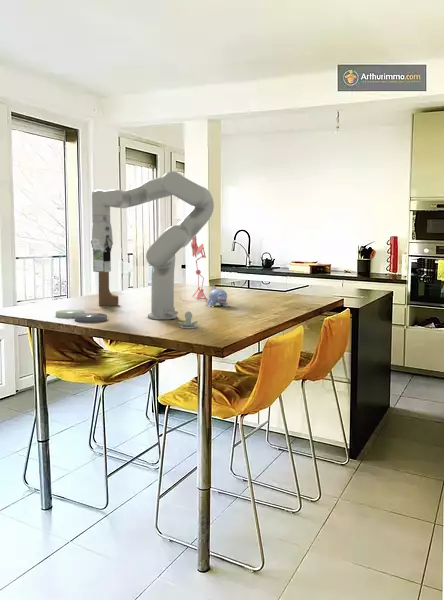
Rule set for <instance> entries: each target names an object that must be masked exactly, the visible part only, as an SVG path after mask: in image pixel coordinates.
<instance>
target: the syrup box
mask: <svg viewBox="0 0 444 600" xmlns="http://www.w3.org/2000/svg"><path fill="white" fill-rule="evenodd" d="M105 245H107V244H106V242H105ZM106 248H107V247H106ZM103 252H104V249H103V246H101V245H100V242H99V239H97V238H93V248H92V263H93V264H92V270H93V271H92V272H94V273H99V272H109V273H110V272H111V271H112V267H111V265H112V263H111V261H112V260H111V261H103Z"/></svg>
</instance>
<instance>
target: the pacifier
mask: <svg viewBox="0 0 444 600" xmlns="http://www.w3.org/2000/svg"><path fill="white" fill-rule="evenodd" d="M184 318H185V322H182V321H178V322H179V324H180V328H181V329H196V328H197V324H198V320H197V321H193V322H192V318H193V313H192V312H191V311H186V312H185V313H184Z"/></svg>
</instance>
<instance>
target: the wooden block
mask: <svg viewBox="0 0 444 600" xmlns="http://www.w3.org/2000/svg"><path fill="white" fill-rule="evenodd" d="M98 305H99V306H100V307H118V306H119V296H118V295H117V294H113V293H111V291H110V272H98Z"/></svg>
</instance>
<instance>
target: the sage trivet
mask: <svg viewBox="0 0 444 600" xmlns="http://www.w3.org/2000/svg"><path fill="white" fill-rule="evenodd" d="M82 313H86V312H85V310H83V309H82V310H80V309H62V310H56V311H55V317H56V318H61V319H75V315H77V314H82Z"/></svg>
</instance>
